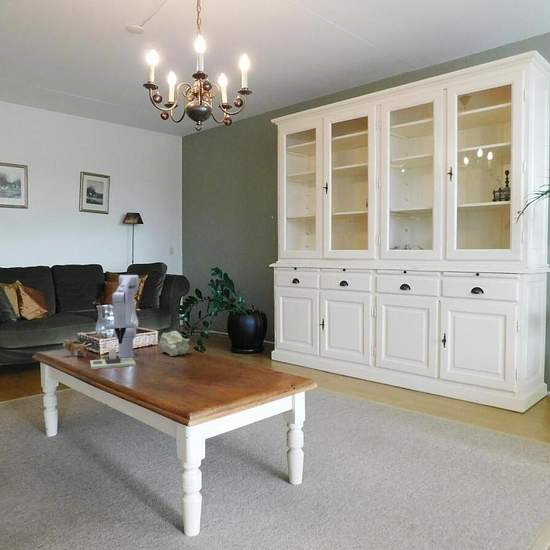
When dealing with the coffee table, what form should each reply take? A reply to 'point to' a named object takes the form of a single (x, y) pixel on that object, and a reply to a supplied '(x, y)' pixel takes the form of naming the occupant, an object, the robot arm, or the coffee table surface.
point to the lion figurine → (74, 347)
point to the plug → (112, 353)
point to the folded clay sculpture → (173, 343)
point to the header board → (112, 362)
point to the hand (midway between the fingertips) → (120, 343)
